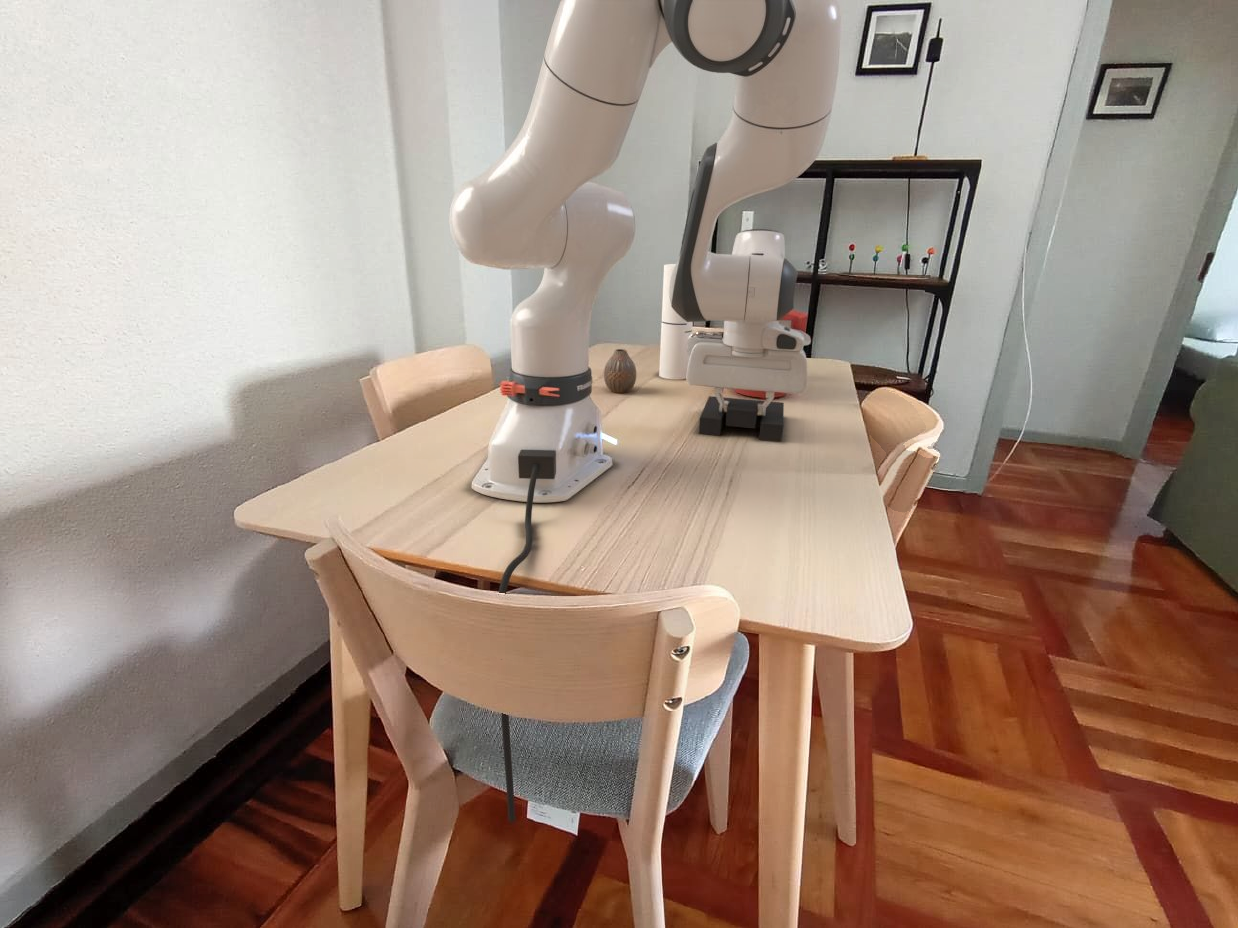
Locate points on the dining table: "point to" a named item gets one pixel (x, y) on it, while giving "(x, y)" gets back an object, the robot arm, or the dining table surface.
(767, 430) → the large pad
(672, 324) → the cylindrical container
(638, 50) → the robot arm
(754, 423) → the small block
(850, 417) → the dining table surface
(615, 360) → the vase
